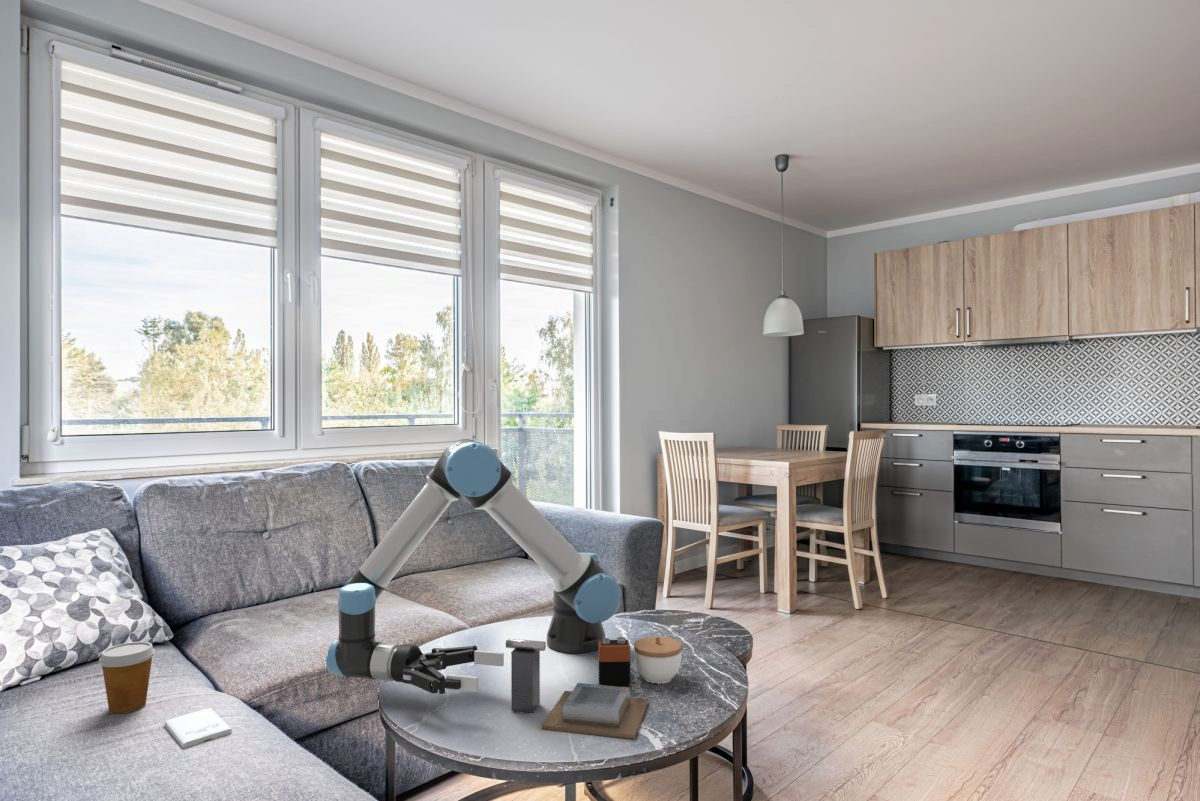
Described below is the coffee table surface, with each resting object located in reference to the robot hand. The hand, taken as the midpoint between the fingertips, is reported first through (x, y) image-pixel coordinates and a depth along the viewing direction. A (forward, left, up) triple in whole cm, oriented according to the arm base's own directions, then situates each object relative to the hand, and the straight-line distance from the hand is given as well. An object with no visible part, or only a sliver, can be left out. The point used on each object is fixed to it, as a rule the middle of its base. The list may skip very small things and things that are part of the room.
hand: (491, 671), depth 144 cm
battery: (-16, +22, -7) cm, 29 cm away
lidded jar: (-21, +31, -7) cm, 39 cm away
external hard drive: (+23, -51, -8) cm, 56 cm away
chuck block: (0, +22, -7) cm, 23 cm away
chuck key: (0, +7, -7) cm, 10 cm away
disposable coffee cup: (+18, -72, -7) cm, 75 cm away
